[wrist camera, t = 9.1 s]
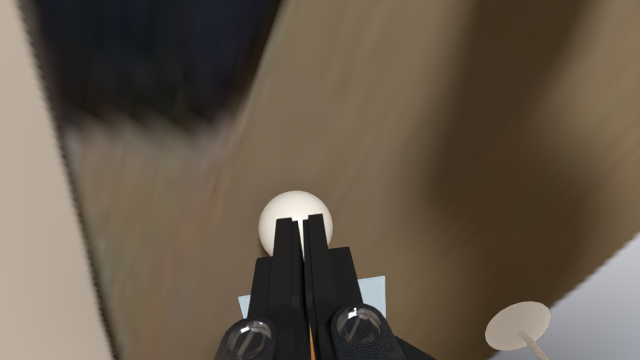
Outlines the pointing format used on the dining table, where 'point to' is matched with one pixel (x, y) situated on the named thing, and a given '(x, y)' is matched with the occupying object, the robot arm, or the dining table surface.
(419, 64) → the dining table surface
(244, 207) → the dining table surface
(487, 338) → the wineglass
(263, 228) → the cue ball
